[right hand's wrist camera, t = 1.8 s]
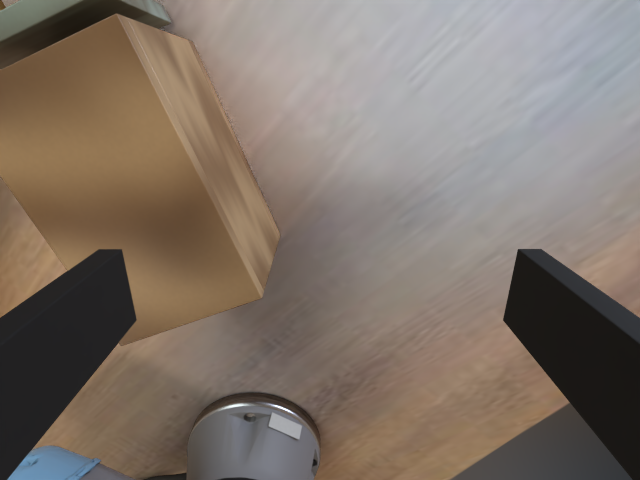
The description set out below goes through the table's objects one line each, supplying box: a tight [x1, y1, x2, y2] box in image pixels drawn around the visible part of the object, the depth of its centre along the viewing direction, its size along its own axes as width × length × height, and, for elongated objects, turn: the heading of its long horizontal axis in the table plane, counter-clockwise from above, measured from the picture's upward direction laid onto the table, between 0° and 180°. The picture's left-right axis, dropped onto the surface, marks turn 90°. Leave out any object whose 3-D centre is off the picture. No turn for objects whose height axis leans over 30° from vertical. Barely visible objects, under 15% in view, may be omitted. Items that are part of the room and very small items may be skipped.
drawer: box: [0, 0, 171, 69], centre depth 25 cm, size 21×10×9 cm, turn 21°
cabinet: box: [0, 13, 280, 346], centre depth 27 cm, size 17×11×11 cm, turn 21°
